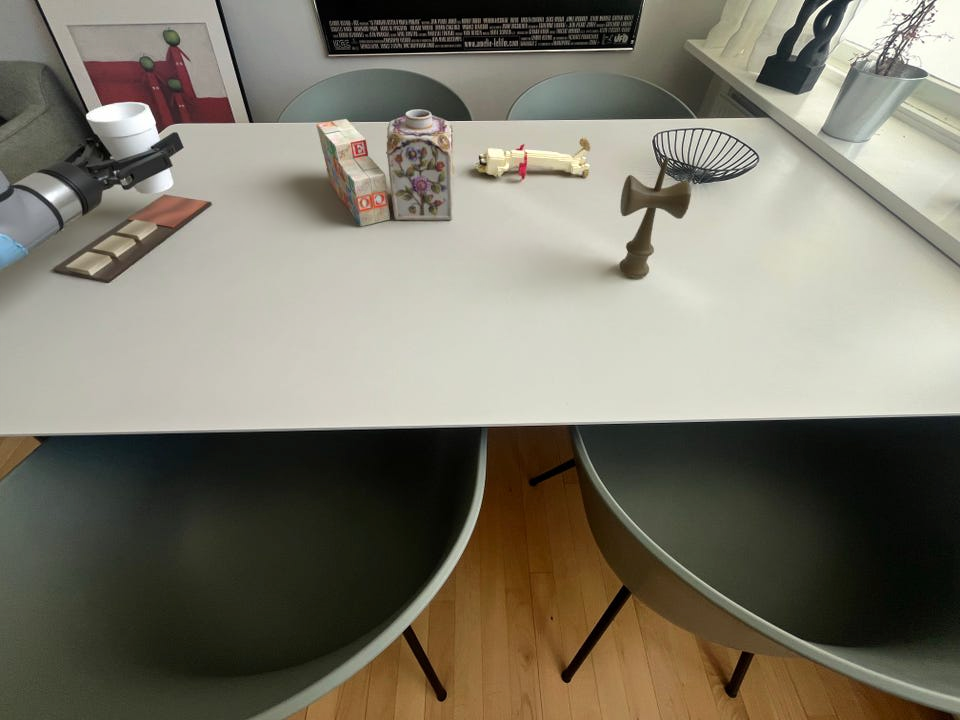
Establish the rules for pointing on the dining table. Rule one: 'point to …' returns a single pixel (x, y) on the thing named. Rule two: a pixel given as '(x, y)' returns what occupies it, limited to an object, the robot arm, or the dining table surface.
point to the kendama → (649, 216)
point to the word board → (132, 239)
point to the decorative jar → (421, 166)
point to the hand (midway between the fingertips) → (153, 137)
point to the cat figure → (533, 160)
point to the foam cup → (129, 137)
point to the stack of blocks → (354, 172)
